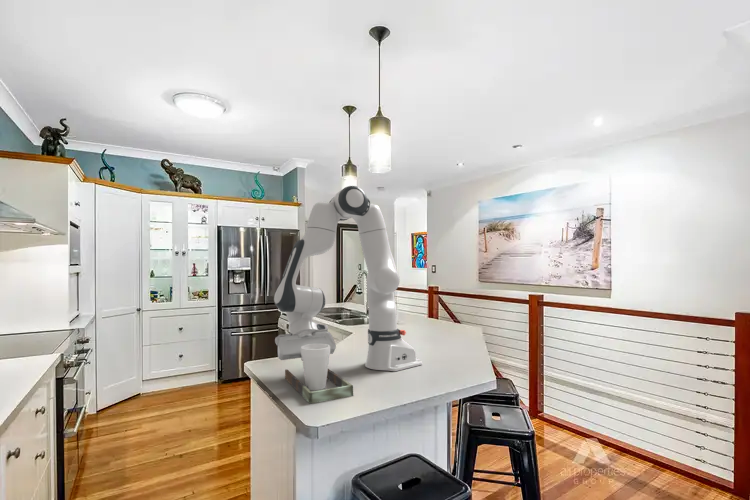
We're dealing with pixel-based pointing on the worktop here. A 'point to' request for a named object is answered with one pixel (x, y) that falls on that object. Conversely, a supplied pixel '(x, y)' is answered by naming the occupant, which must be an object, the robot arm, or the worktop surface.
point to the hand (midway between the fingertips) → (311, 366)
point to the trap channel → (322, 395)
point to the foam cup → (315, 365)
